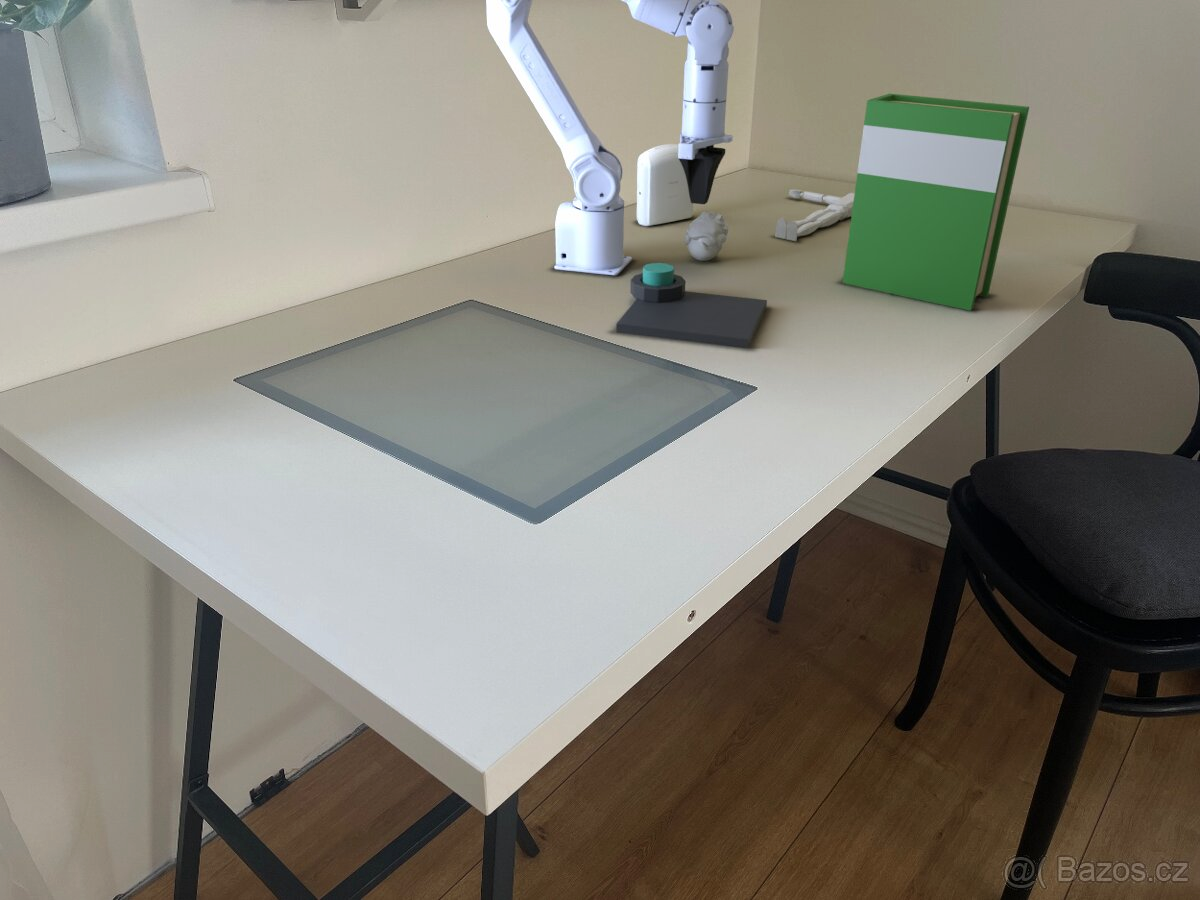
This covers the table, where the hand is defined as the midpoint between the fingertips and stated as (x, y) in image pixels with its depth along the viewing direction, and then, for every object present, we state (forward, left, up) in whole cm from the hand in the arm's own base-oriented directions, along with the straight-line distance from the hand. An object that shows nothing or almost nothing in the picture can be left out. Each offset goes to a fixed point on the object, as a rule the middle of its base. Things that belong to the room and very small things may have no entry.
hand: (699, 202), depth 129 cm
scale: (+4, -20, -9) cm, 22 cm away
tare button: (-2, -16, -7) cm, 17 cm away
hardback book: (+30, 0, -10) cm, 32 cm away
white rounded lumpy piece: (0, +4, -10) cm, 11 cm away
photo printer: (-11, +23, -10) cm, 27 cm away
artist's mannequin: (+16, +32, -10) cm, 38 cm away
